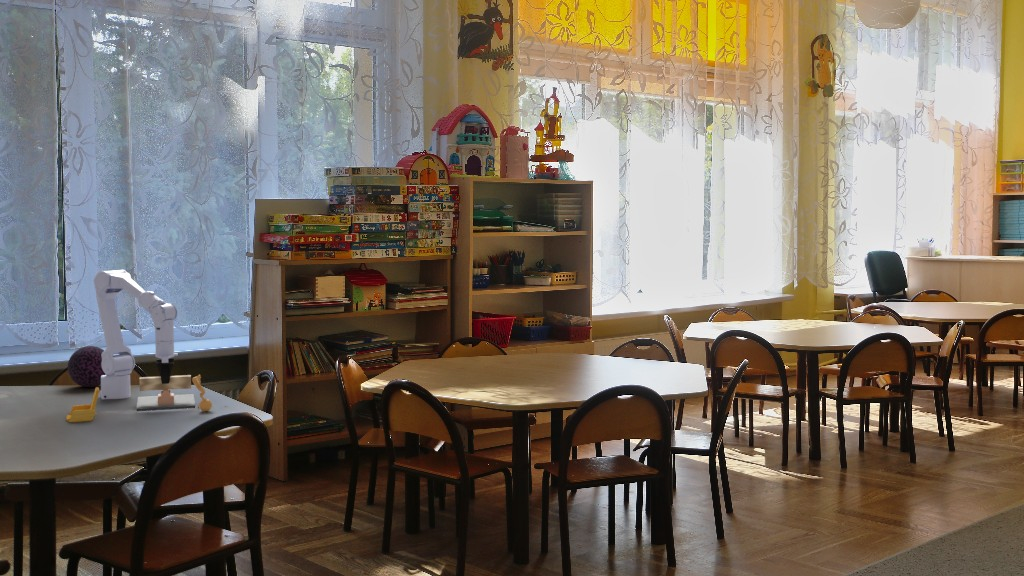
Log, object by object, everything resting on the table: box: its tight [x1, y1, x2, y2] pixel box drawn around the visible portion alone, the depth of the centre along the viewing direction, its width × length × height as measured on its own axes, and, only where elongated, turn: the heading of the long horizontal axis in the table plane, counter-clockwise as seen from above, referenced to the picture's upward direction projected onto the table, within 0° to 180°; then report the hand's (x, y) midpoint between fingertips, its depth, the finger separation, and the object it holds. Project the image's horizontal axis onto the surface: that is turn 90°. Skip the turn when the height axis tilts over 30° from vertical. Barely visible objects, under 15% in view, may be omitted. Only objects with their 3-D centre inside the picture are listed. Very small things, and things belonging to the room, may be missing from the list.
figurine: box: [191, 374, 213, 413], centre depth 326 cm, size 8×6×12 cm
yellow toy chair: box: [65, 386, 100, 423], centre depth 316 cm, size 10×10×9 cm
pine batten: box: [139, 374, 192, 392], centre depth 336 cm, size 16×3×4 cm, turn 109°
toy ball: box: [67, 345, 105, 388], centre depth 371 cm, size 15×15×15 cm
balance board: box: [135, 389, 196, 412], centre depth 339 cm, size 18×20×6 cm
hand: (165, 381), depth 336 cm, fingers open, 7 cm apart
